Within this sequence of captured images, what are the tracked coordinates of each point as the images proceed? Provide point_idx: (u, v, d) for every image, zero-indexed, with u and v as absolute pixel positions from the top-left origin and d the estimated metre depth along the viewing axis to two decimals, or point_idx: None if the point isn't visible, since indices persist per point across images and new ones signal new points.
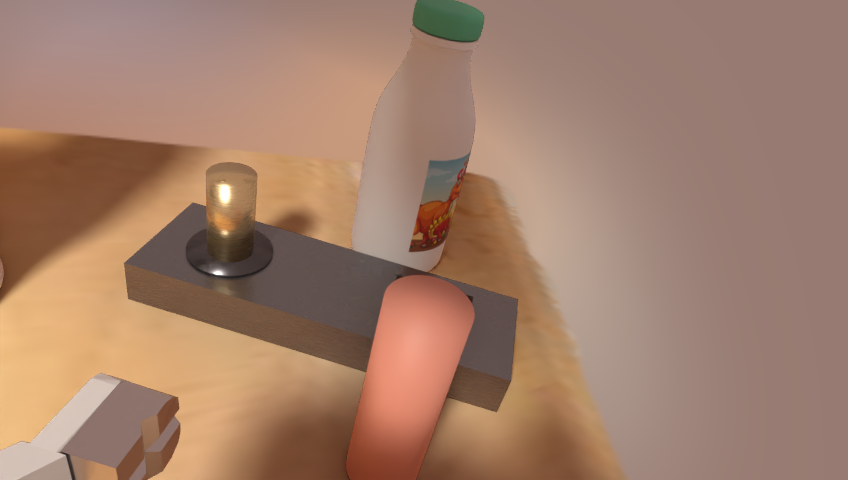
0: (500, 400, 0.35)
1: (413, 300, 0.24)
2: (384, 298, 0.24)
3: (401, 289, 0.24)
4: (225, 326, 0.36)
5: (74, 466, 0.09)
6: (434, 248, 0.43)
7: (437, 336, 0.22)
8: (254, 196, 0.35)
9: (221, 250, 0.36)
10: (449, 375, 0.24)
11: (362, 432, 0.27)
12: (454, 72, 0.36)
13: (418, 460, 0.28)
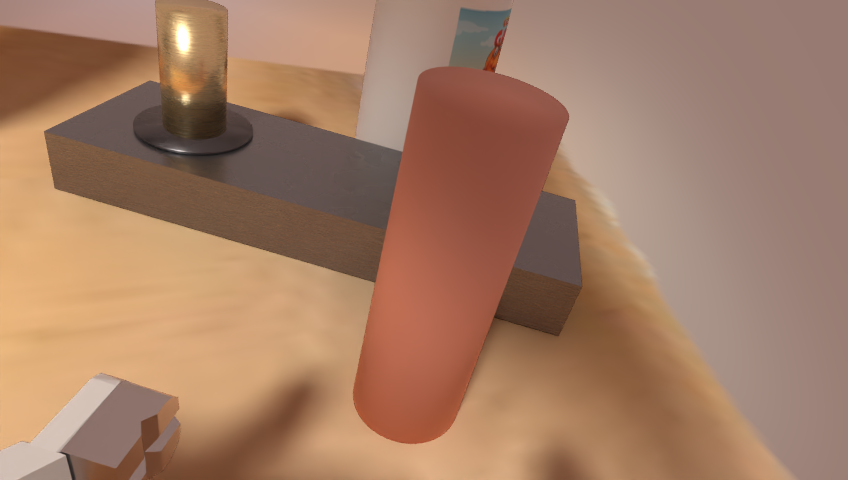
0: (564, 317, 0.25)
1: (467, 88, 0.14)
2: (419, 80, 0.14)
3: (445, 76, 0.15)
4: (186, 223, 0.26)
5: (74, 466, 0.09)
6: None
7: (516, 126, 0.13)
8: (224, 40, 0.26)
9: (180, 120, 0.26)
10: (524, 219, 0.15)
11: (380, 330, 0.17)
12: None
13: (464, 379, 0.18)
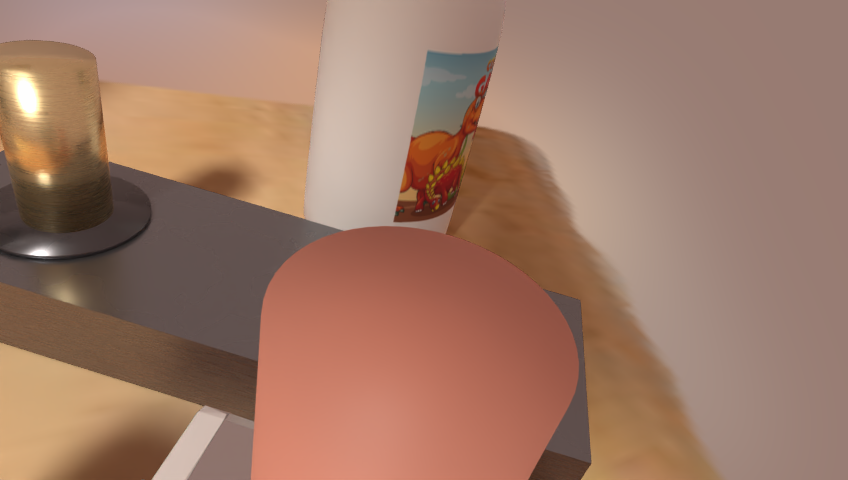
0: None
1: (372, 302, 0.07)
2: (268, 295, 0.07)
3: (334, 265, 0.07)
4: (44, 352, 0.19)
5: None
6: (436, 217, 0.27)
7: (458, 444, 0.06)
8: (90, 103, 0.18)
9: (36, 210, 0.19)
10: None
11: None
12: None
13: None
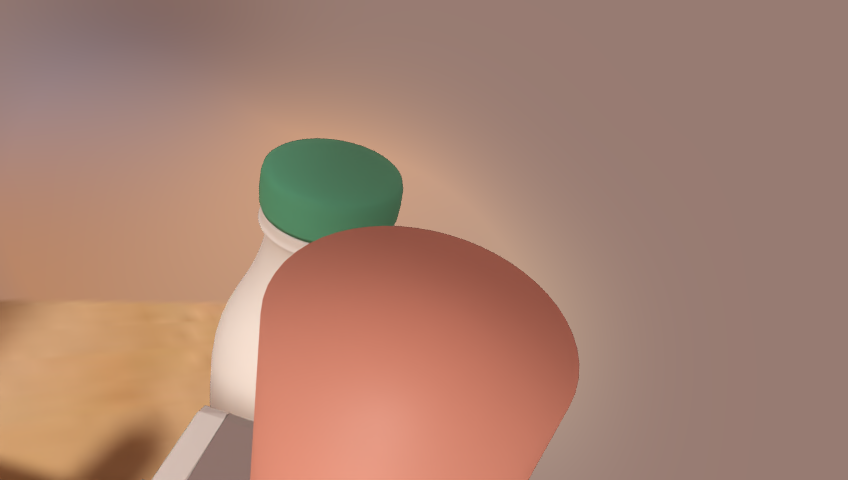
0: None
1: (372, 302, 0.07)
2: (268, 294, 0.07)
3: (334, 265, 0.07)
4: None
5: None
6: None
7: (458, 446, 0.06)
8: None
9: None
10: None
11: None
12: None
13: None
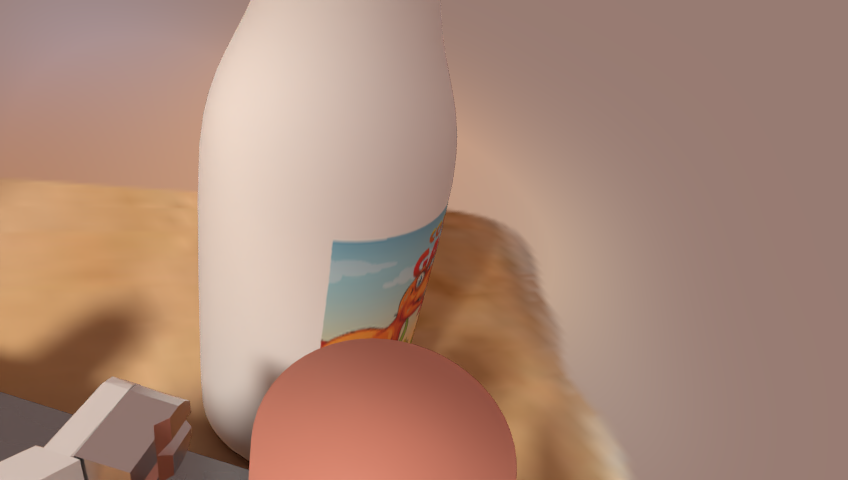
0: None
1: (344, 422, 0.08)
2: (257, 420, 0.08)
3: (314, 385, 0.09)
4: None
5: (88, 471, 0.09)
6: None
7: None
8: None
9: None
10: None
11: None
12: None
13: None
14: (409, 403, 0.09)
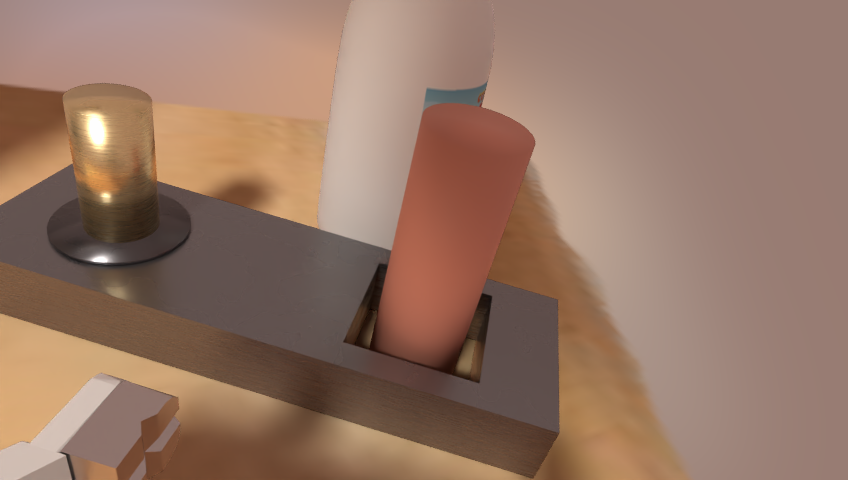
0: (540, 461, 0.22)
1: (459, 122, 0.19)
2: (423, 116, 0.19)
3: (443, 112, 0.20)
4: (106, 342, 0.23)
5: (74, 466, 0.09)
6: None
7: (494, 152, 0.18)
8: (147, 136, 0.22)
9: (100, 224, 0.23)
10: (502, 220, 0.20)
11: (391, 306, 0.22)
12: None
13: (457, 346, 0.23)
14: (485, 121, 0.20)
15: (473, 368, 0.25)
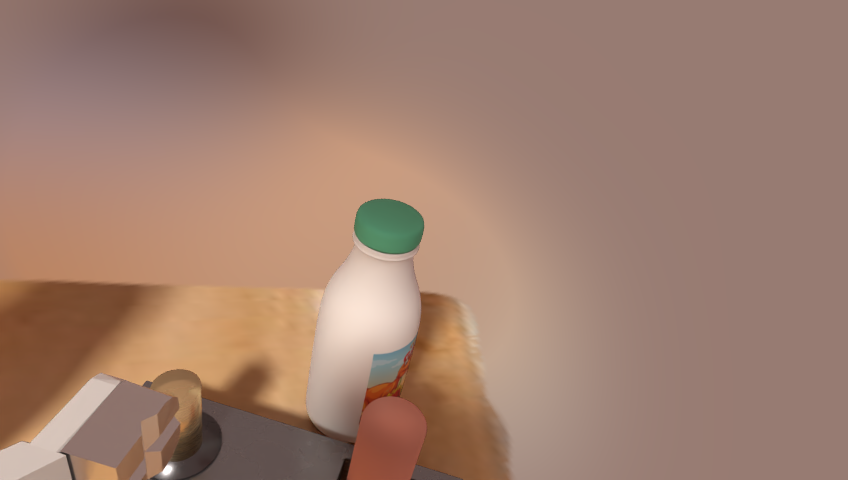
0: None
1: (383, 420, 0.33)
2: (361, 419, 0.33)
3: (374, 410, 0.34)
4: None
5: (74, 466, 0.09)
6: None
7: (398, 451, 0.32)
8: (198, 405, 0.36)
9: None
10: (409, 472, 0.34)
11: None
12: (395, 277, 0.37)
13: None
14: (399, 415, 0.34)
15: None
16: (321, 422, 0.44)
